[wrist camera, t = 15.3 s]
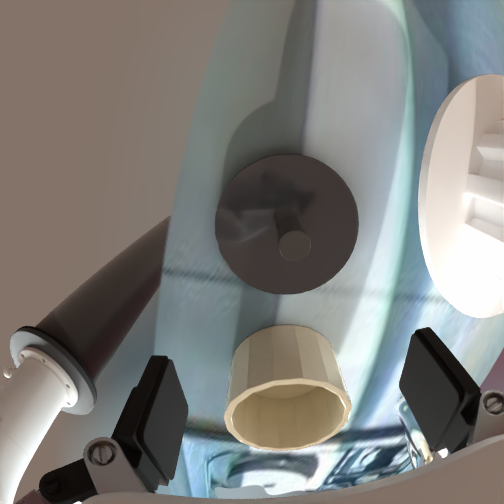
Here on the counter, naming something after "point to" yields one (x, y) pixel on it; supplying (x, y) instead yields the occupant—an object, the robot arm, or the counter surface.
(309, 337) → the faceted cream dish
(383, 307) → the counter surface
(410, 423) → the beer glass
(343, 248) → the lid
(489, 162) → the ribbed cylinder on disc
